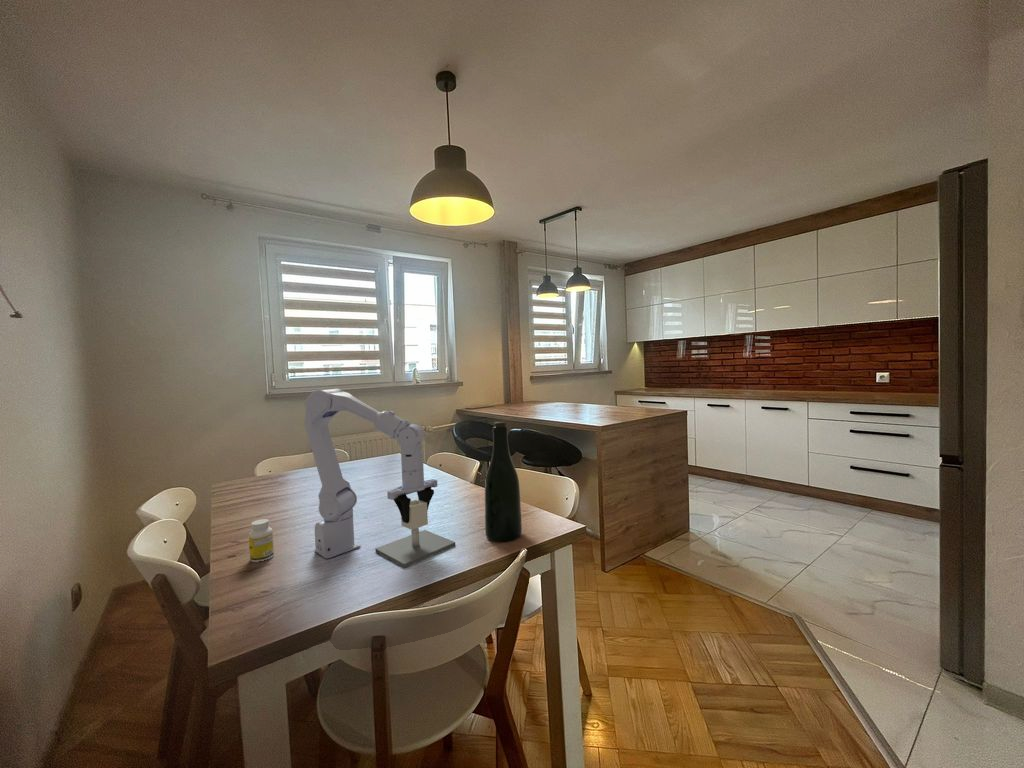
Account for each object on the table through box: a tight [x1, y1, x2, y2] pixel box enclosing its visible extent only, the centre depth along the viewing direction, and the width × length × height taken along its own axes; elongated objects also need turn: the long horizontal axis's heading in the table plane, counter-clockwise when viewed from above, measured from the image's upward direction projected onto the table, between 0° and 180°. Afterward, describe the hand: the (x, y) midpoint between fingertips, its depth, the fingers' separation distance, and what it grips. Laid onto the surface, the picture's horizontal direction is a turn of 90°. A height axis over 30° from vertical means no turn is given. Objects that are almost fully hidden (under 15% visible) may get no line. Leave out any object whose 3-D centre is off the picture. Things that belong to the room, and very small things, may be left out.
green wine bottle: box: [484, 421, 523, 543], centre depth 115 cm, size 10×10×33 cm
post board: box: [374, 528, 456, 569], centre depth 109 cm, size 16×14×6 cm
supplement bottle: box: [248, 518, 275, 563], centre depth 106 cm, size 5×5×10 cm
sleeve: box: [400, 498, 429, 530], centre depth 109 cm, size 5×5×6 cm
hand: (414, 519), depth 109 cm, fingers closed on sleeve, 5 cm apart
